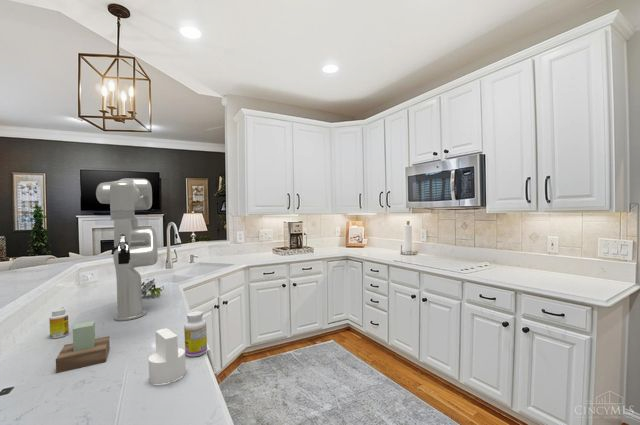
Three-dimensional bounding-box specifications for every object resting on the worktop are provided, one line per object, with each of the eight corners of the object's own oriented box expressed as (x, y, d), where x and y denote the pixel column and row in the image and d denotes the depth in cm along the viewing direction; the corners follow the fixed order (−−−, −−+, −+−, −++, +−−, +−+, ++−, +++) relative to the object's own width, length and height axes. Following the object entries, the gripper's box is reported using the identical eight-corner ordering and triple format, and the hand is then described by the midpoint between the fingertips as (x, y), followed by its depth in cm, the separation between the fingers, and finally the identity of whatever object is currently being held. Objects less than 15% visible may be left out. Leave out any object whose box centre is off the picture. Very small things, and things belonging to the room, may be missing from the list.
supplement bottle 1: (67, 336, 117) (66, 310, 117) (48, 340, 115) (47, 313, 115) (70, 332, 122) (69, 306, 122) (52, 335, 120) (51, 309, 120)
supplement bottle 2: (185, 350, 101) (184, 311, 101) (207, 346, 104) (205, 308, 104) (184, 359, 95) (183, 318, 95) (207, 355, 97) (205, 314, 97)
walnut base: (65, 357, 100) (64, 344, 100) (109, 347, 106) (109, 336, 106) (56, 373, 89) (55, 359, 89) (106, 361, 95) (105, 348, 95)
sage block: (76, 346, 99) (75, 324, 99) (95, 342, 101) (94, 320, 101) (73, 351, 94) (72, 329, 94) (93, 347, 97) (92, 325, 97)
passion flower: (144, 307, 172) (135, 289, 175) (164, 299, 180) (155, 281, 183) (147, 299, 165) (138, 280, 168) (167, 291, 173) (159, 273, 176)
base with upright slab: (145, 377, 85) (143, 334, 85) (178, 365, 92) (177, 324, 92) (155, 389, 79) (153, 343, 79) (190, 375, 85) (189, 332, 85)
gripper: (112, 216, 119) (114, 260, 119) (108, 216, 104) (110, 266, 104) (135, 215, 123) (136, 258, 123) (134, 215, 108) (135, 264, 108)
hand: (124, 262), depth 114 cm, fingers open, 9 cm apart
